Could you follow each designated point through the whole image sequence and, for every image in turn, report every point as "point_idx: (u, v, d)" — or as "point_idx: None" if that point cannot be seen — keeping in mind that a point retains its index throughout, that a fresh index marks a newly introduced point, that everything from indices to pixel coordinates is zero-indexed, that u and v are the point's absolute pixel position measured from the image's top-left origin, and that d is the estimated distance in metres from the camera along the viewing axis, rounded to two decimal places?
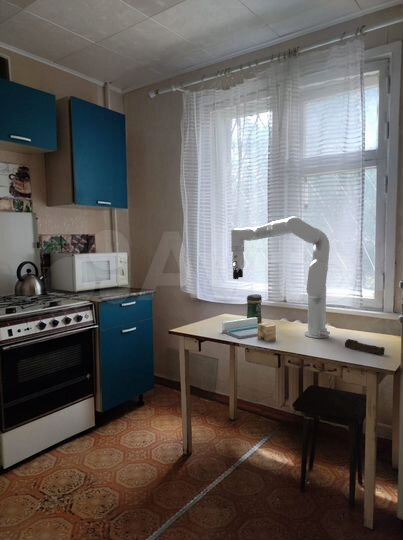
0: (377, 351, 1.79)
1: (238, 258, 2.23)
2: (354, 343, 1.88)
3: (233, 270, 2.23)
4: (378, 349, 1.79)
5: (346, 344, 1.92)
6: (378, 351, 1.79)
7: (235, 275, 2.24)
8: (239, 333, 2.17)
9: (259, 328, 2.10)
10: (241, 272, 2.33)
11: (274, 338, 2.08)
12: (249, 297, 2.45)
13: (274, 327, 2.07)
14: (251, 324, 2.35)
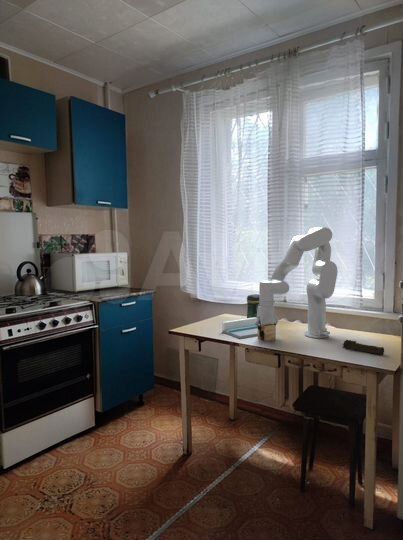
0: (377, 351, 1.79)
1: None
2: (353, 344, 1.87)
3: None
4: (378, 349, 1.79)
5: (344, 345, 1.90)
6: (378, 351, 1.79)
7: None
8: (239, 333, 2.17)
9: None
10: None
11: (274, 338, 2.08)
12: (249, 297, 2.45)
13: (274, 327, 2.07)
14: (251, 324, 2.35)
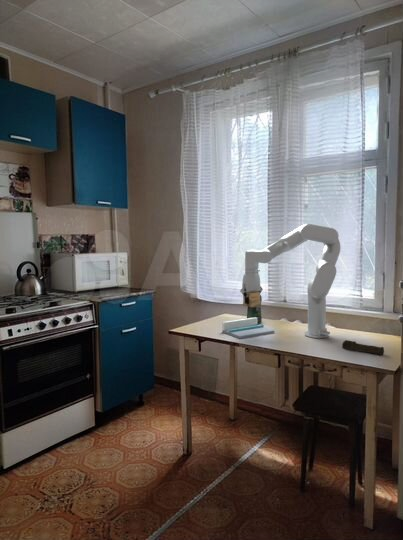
0: (377, 351, 1.79)
1: None
2: (353, 344, 1.86)
3: None
4: (378, 349, 1.79)
5: (344, 345, 1.90)
6: (378, 351, 1.79)
7: None
8: (239, 333, 2.17)
9: None
10: None
11: (259, 304, 2.18)
12: None
13: (259, 294, 2.17)
14: (251, 324, 2.35)
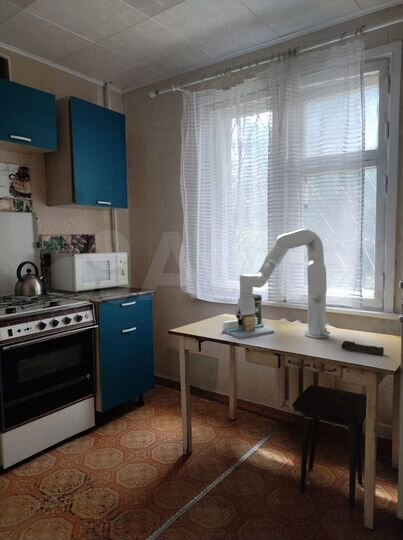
0: (377, 351, 1.79)
1: None
2: (352, 345, 1.85)
3: (256, 314, 2.28)
4: (378, 349, 1.79)
5: (343, 346, 1.89)
6: (379, 351, 1.79)
7: None
8: (239, 333, 2.17)
9: None
10: None
11: (253, 328, 2.24)
12: None
13: (253, 318, 2.23)
14: None
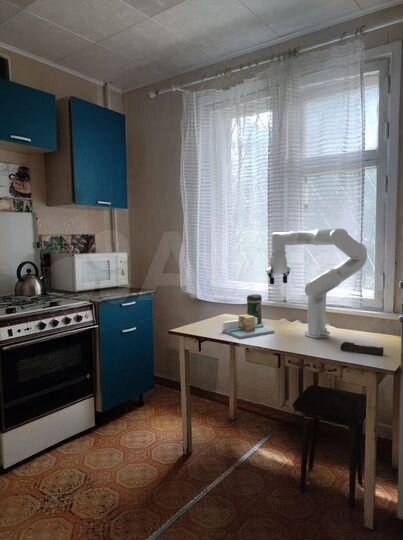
0: (378, 352, 1.79)
1: None
2: (352, 345, 1.84)
3: None
4: (379, 350, 1.78)
5: (342, 347, 1.87)
6: (379, 352, 1.78)
7: None
8: (239, 333, 2.17)
9: (240, 319, 2.26)
10: None
11: (253, 328, 2.24)
12: (249, 297, 2.45)
13: (253, 318, 2.23)
14: None
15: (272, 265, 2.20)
